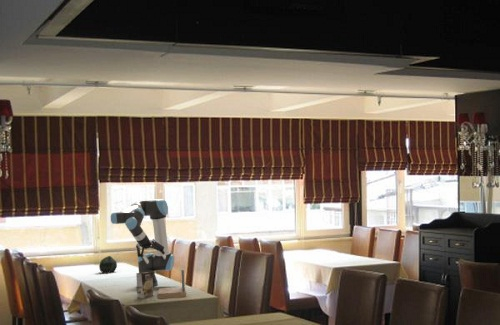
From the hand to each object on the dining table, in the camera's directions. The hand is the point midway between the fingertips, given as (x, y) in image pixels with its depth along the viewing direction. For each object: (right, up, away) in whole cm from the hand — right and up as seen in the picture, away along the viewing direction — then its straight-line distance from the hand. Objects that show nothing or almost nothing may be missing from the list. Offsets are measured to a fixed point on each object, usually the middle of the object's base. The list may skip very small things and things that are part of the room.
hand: (156, 260), depth 487 cm
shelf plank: (+11, -23, -5) cm, 26 cm away
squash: (-59, -29, +133) cm, 149 cm away
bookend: (+19, -19, -4) cm, 27 cm away
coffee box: (-7, -24, -7) cm, 25 cm away
